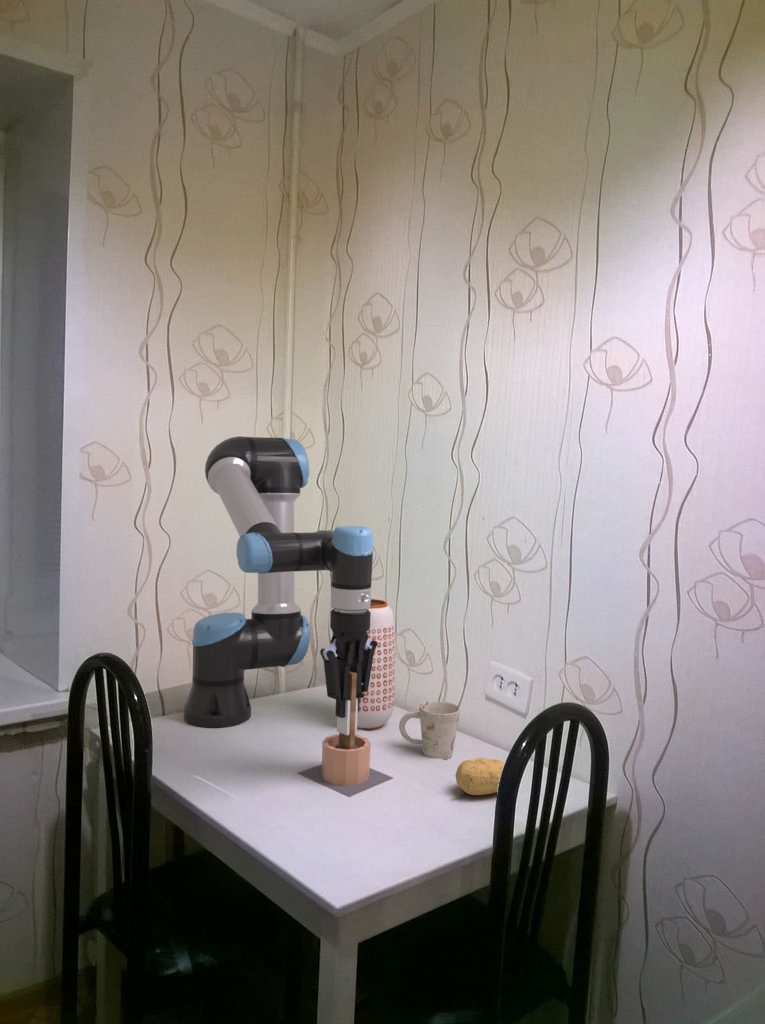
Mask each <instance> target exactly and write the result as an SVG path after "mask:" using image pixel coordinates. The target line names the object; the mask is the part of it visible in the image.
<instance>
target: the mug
mask: <svg viewBox="0 0 765 1024" xmlns="http://www.w3.org/2000/svg"><path fill="white" fill-rule="evenodd" d="M418 708H419V709H418V710H419V711H408V712H406V713H405V714H403V716H402V717H401V719H400V721H399V724H398V728H399V732H400V735H401V737H402V738H404V739H405V740H406V741H407V742H409V743H411V744H414V745H416V744H417V745H422V753H423V755H424V756H427V757H428V758H431V759H439V760H440V759H442V760H448V759H451V758H453V757H452V756H453V753H454V748H455V743H456V742H455V741H456V736H457V730H458V724H459V719H460V713H461V709H460V706H458V705H457V704H456V703H453V702H448V701H444V700H430V701H425V702H423V703H421V704H420V705H419V707H418ZM413 718H414V719H419V720H420V732H421V733H420V734H421V739H417V738H416V739H415V738H411V737H410V736H409V734H408V732H407V730H406V724H407V722H408V721H409V720H410V719H413Z"/></svg>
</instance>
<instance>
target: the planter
mask: <svg viewBox="0 0 765 1024" xmlns="http://www.w3.org/2000/svg"><path fill="white" fill-rule="evenodd" d="M368 610H369V611H370V612H371V617H370V629H369V630H368V631H367V634H368V638H369V639H371V640H374V641H377V646H376V649H375V651H374V655H373V662H372V668H371V675H370V681H369V687H368V691H367V692H363V693H362V694H365V695H364V697H363V698H360V704H359V713H358V714H357V730H358V729H360V730H363V731H374V730H378V729H380V728H383V727H384V725H385V724H386V723H387V722H388V721H389V720H390V719H391V717H392V715H393V713H394V709H395V704H396V640H395V638H396V637H395V621H394V619H395V618H394V613H393V610H392V608H391V606H389V604H388V603H387V601H384V600H381V599H377V598H376V599H375V598H371V606H370V608H369V609H368ZM362 684H363V683H362Z"/></svg>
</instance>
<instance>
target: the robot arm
mask: <svg viewBox="0 0 765 1024" xmlns="http://www.w3.org/2000/svg"><path fill="white" fill-rule="evenodd" d="M204 473H205V479H206V481H207V484H208V485H209V487H210V489H211V491H212V492H214V493H216V494H218V495H219V498H220V499H221V501H222V505H224V507H225V509H226V512H227V514H228V515H229V518H230V520H231V522H232V524H233V526H234V528H235V530H236V532H237V533H238V536H239V537H238V540H237V544H236V558H237V563H238V567H239V569H240V570H241V571H242V572H244V573H246V574H247V573H248V574H249V573H250V574H253V573H254V574H257V603H256V605H255V606H254V607H253V608H252V609H251V611H250V612H251V617H250V618H246V616H245V614H243V613H241V612H221V613H216V614H215V613H214V614H211V615H207V616H204V617H203V618H201V619H199V620H198V621H197V622H195V624H194V626H193V634H192V635H193V636H192V640H191V641H192V642H191V644H192V678H191V679H192V685H191V688H190V690H189V693H188V696H187V700H186V703H185V705H184V708H183V719H184V721H185V722H186V723H188V724H190V725H193V726H197V727H203V728H223V727H225V728H226V727H230V726H231V727H232V726H236V725H239V724H242V723H245V722H247V721H248V720H249V719H250V718H251V717H252V704H251V702H250V698H249V696H248V692H247V689H246V684H245V671H247V670H256V669H257V670H258V669H265V668H266V669H267V668H277V667H281V668H285V667H288V666H293V665H297V664H299V663H301V662H302V661H303V660H304V658H305V657H306V655H307V653H308V650H309V646H310V640H311V629H310V627H309V626H310V624H309V620H308V618H307V616H305V615H303V614H301V613H302V612H301V607H299V606H298V605H297V604H296V602H295V572H314V571H315V572H316V571H318V572H319V571H329V572H331V585H330V586H331V588H330V589H331V591H330V592H331V593H330V607H331V608H332V609H331V610H330V615H329V616H330V622H329V624H330V625H329V626H330V629H331V631H332V636H331V638H330V644H329V645H328V646H327V648H321V649H320V652H319V653H320V656H321V657H322V660H323V668H324V675H325V687H326V694H327V695H326V696H327V697H328V698H330V699H334V700H335V717H337V718H336V719H337V720H336V732H337V733H338V734H339V733H342V734H344V735H350V708H351V701H350V700H347V699H348V687H349V674H350V671H352V672H355V673H357V684H356V715H355V734H356V733H357V732H358V728H357V714H358V713H359V704H360V698H363V697H364V695H365V694H362V693H363V692H367V691H368V687H369V681H370V675H371V668H372V662H373V655H374V651H375V649H376V646H377V641H374V640H371V639H369V638H368V634H367V631H368V630H369V629H370V617H371V612H370V611H369V610H368V609H369V608H370V606H371V599H372V580H373V579H372V578H373V558H374V545H373V542H374V540H373V538H374V537H373V531H372V530H371V529H370V528H369V527H368V526H367V527H366V526H359V525H341V526H336V527H335V528H334V529H333V530H330V529H328V530H327V529H326V530H325V529H324V530H323V529H322V530H320V529H319V530H316V531H314V532H295V502H296V500H297V499H298V497H300V496H301V489H302V488H304V487H306V486H307V484H308V482H309V477H310V463H309V457H308V454H307V451H306V449H305V448H304V445H303V444H302V443H301V442H300V441H299V440H296V439H293V438H285V437H257V436H256V437H255V436H231V437H230V438H227V439H224V440H223V441H221V442H220V443H218V444H217V445H216V446H214V447H213V449H212V450H211V452H209V454H208V456H207V459H206V461H205V465H204ZM362 683H363V684H362Z"/></svg>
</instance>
